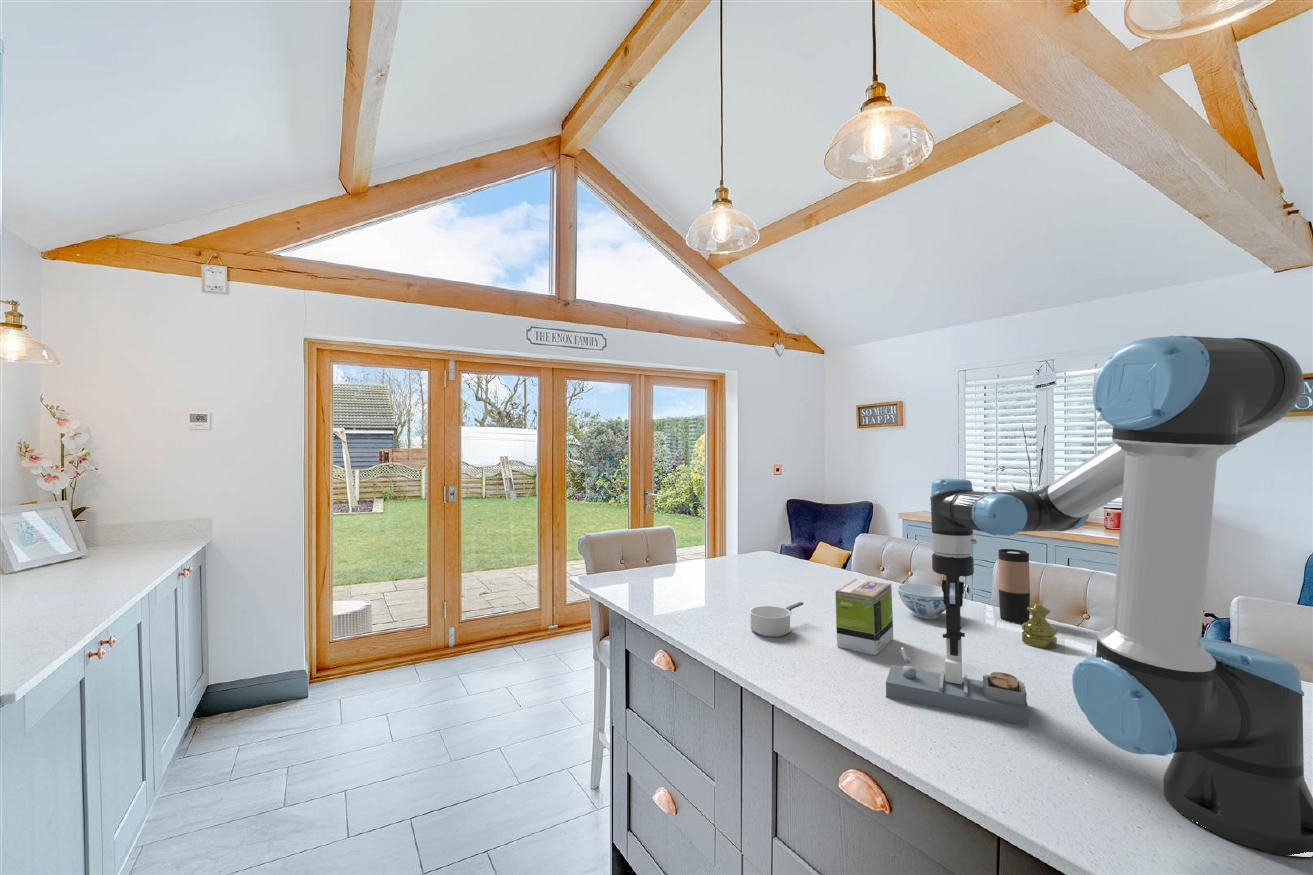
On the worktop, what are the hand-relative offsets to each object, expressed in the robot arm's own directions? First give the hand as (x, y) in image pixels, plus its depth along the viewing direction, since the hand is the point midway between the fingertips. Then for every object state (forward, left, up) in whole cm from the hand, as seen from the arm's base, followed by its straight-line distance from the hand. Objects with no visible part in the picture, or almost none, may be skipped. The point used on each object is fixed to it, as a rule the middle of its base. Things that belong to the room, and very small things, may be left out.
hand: (954, 669), depth 111 cm
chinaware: (+55, +9, -5) cm, 56 cm away
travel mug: (+63, -14, -5) cm, 65 cm away
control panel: (-3, 0, -5) cm, 6 cm away
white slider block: (-2, 0, -2) cm, 2 cm away
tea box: (+22, +21, -5) cm, 31 cm away
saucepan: (+23, +43, -5) cm, 49 cm away
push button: (-3, -8, -1) cm, 9 cm away
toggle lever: (-3, +8, 0) cm, 9 cm away
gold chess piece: (+43, -18, -5) cm, 47 cm away
